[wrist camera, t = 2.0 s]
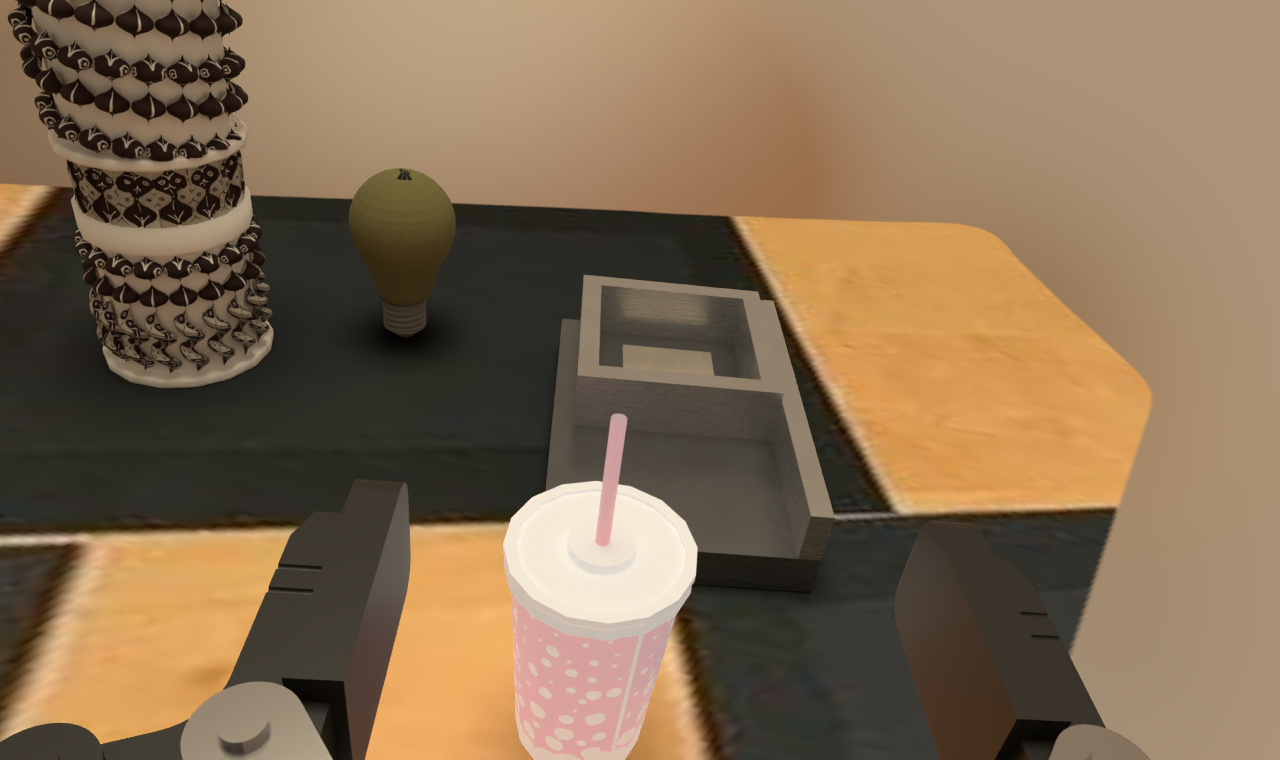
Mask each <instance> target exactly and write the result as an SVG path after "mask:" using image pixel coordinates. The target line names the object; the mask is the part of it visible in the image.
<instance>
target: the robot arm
mask: <svg viewBox="0 0 1280 760" xmlns="http://www.w3.org/2000/svg"><path fill="white" fill-rule="evenodd" d="M409 573H410V530H409V506H408V489H407V484H406V483H404V482H390V481H376V480H362V479H356V480H355V481H354V483H353V484H352V487H351V489H350V492H349V495H348V498H347V500H346V503H345V506H344V509H343V511H342V513H333V512H319V511H315V512H314V513H313V514H312V515H311V516H310V517H309V518H308V519H307V520H306V521H305V522H304V523H303V524H302V525H300V526H299V527H298V528H297V529H296V530H295V531H294V532H293V533H292V534H291V535H290V537H289V540H288V542H287V544H286V547H285V549H284V551H283V554H282V556H281V559H280V561H279V563H278V569H276V570H275V573H274V575H273V578H272V580H271V582H270V585H269V590H268V593H266V594H265V596H264V599H263V601H262V604H261V606H260V608H259V611H258V613H257V615H256V618H255V620H254V623H253V625H252V627H251V630H250V632H249V634H248V637H247V639H246V641H245V644H244V646H243V649H242V651H241V653H240V656H239V658H238V660H237V663H236V665H235V667H234V670H233V672H232V675H231V677H230V679H229V681H228V683H227V685H226V686H225V687H224V689H223V690H222V691H220V692H219V693H217V694H215V695H213V696H212V697H210V698H209V699H208V700H206V701H205V702H204V703H203V704H202V705H201V706H199V707H198V708H197V710H196V711H195V712H194V713H193V714H192V715H191V717H190V719H188V720H186V721H184V722H182V723H180V724H177V725H175V726H172V727H170V728H167V729H163V730H160V731H156V732H152V733H148V734H143V735H139V736H135V737H130V738H126V739H122V740H117V741H113V742H108V743H104V744H100V743H99V741H98V739H97V738H96V737H95V735H94V734H93V733H91V732H90V731H89V730H87V729H85V728H83V727H81V726H78V725H74V724H69V723H50V724H44V725H39V726H35V727H32V728H29V729H25V730H23V731H21V732H18V733H16V734H14V735H12V736H10V737H8V738H6V739H5V740H3V741H1V742H0V760H365V756H366V752H367V748H368V744H369V740H370V736H371V732H372V728H373V724H374V720H375V716H376V712H377V708H378V704H379V700H380V696H381V692H382V689H383V685H384V681H385V677H386V673H387V669H388V665H389V661H390V657H391V653H392V649H393V645H394V641H395V637H396V633H397V629H398V625H399V621H400V617H401V613H402V609H403V605H404V602H405V597H406V593H407V588H408V581H409ZM1047 614H1048V613H1047V611H1046V609H1045V607H1044V605H1043V603H1042V601H1041V599H1040V597H1039V595H1038V593H1037V591H1036V589H1035V587H1034V585H1033V584H1032V583H1031V582H1030V581H1029V580H1028V579H1027V578H1026V577H1025V576H1024V575H1023V574H1022V573H1021V572H1020V571H1019V570H1018V569H1017V568H1016V567H1015V566H1014V565H1013V564H1012V563H1011V562H1010V561H1009V560H1008V559H995V558H994V557H993V554H992V552H991V550H990V548H989V546H988V544H987V542H986V540H985V538H984V535H983V533H982V532H981V530H980V528H979V527H978V526H976V525H975V524H967V523H953V522H938V521H926V522H925V523H924V524H923V525H922V526H921V528H920V530H919V533H918V535H917V538H916V541H915V543H914V546H913V548H912V551H911V553H910V556H909V559H908V561H907V564H906V566H905V569H904V571H903V574H902V577H901V579H900V582H899V584H898V587H897V591H896V596H895V618H896V624H897V628H898V631H899V635H900V638H901V641H902V644H903V647H904V650H905V653H906V656H907V659H908V662H909V665H910V668H911V671H912V675H913V678H914V681H915V684H916V687H917V690H918V693H919V696H920V699H921V702H922V705H923V708H924V711H925V715H926V718H927V721H928V724H929V727H930V730H931V733H932V736H933V739H934V742H935V745H936V748H937V751H938V755H939V758H940V760H1150V758H1149V757H1148V756H1147V755H1146V754H1145V753H1144V752H1143V751H1142V750H1141V749H1140V748H1139V747H1137V746H1136V745H1135V744H1134V743H1132V742H1131V741H1130V740H1128V739H1126V738H1125V737H1123V736H1122V735H1120V734H1118V733H1115V732H1113V731H1112V730H1109V729H1106V727H1105V725H1104V723H1103V721H1102V719H1101V717H1100V715H1099V714H1098V712H1097V710H1096V708H1095V706H1094V704H1093V702H1092V700H1091V698H1090V696H1089V694H1088V692H1087V690H1086V688H1085V686H1084V684H1083V682H1082V680H1081V678H1080V676H1079V674H1078V672H1077V670H1076V668H1075V666H1074V664H1073V662H1072V660H1071V658H1070V656H1069V654H1068V652H1067V650H1066V648H1065V646H1064V644H1063V642H1059V635H1058V633H1057V631H1056V629H1055V627H1054V625H1053V623H1052V621H1051V619H1048V618H1047Z"/></svg>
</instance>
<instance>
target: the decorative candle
mask: <svg viewBox="0 0 1280 760" xmlns="http://www.w3.org/2000/svg"><path fill="white" fill-rule="evenodd" d="M16 1H17V2H18V8H16V9H14V10H13V11H11V12H10V13H9V15H8V21H9V23H10V24H11V26H13V27H14V28H13V34H14V36H15V38H16V39H17V40H18V41H19V42H20V43H22V44H25V45H26V46H24V47H23V48H22V50H21V52H20V56H21V58H22V60H23V61H24V62H23V65H22V68H23V71H24V73H25V74H26V75H27V76H29V77H30V78H33V79H36V83H37V85H38V86H39V87H40V88H41V89H43V90H44V91H42V92H40V93H39V94H38V95H37V96H36V98H35V104H36V107H37V108H38V109H40V111H39V118H40V120H41V121H42V122H43V123H44V124H45V125H47V126H48V129H49V131H48V133H47V135H48V139H49V142H50V144H51V146H52V148H53V151H54V152H55V154H57V155H59V156H61V157H63V158H65V159H66V160H67V170H68V174H69V176H70V179H71V182H72V185H73V188H74V192H75V195H74V196H73V198H72V199H71V202H72V206H73V210H74V214H75V218H76V222H77V226H78V228H79V229H78V230H77V231H76V233H75V235H74V237H75V241H76V242H77V243H76V244H75V250H76V252H77V254H78V255H80V256H81V257H84V258H85V259H84V260H83V262H82V268H83V269H84V270H85V271H84V272H83V280H84V281H85V282H86V283H87V284H89V285H93V287H92V289H91V291H90V294H89V299H90V311H91V313H92V315H93V317H94V318H95V319H96V325H97V337H98V339H99V341H100V342H101V344H103V345H104V346H103V353H104V356H105V358H106V361H107V363H108V366H109V368H110V370H111V371H113V372H114V373H116V374H118V375H119V376H121V377H122V378H124V379H126V380H127V381H129V382H131V383H136V384H141V385H146V386H151V387H156V388H191V387H199V386H204V385H208V384H212V383H216V382H220V381H225V380H229V379H231V378H233V377H235V376H237V375H239V374H241V373H243V372H245V371H247V370H249V369H251V368H253V367H255V366H256V365H257V364H258V363H259V362H260V361H261V360H262V359H263V358H264V357H265V356H266V355H267V354H268V353H269V352H270V351H271V347H272V342H273V336H274V332H273V329H272V327H271V326H270V324H269V323H268V321H267V320H268V319H269V318H270V317H271V316H272V315H273V312H272V311H271V310H270V309H268V308H266V307H265V306H266V304H267V303H268V300H267V298H266V297H265V295H266V294H267V293H268V292H269V291H270V287H269V286H268V285H267V284H265V283H263V282H262V281H263V280H264V279H265V275H264V273H263V272H261V268H260V266H261V265H262V264H263V263H264V261H265V256H264V254H263V253H262V252H260V245H259V244H258V241H257V240H258V239H259V238H260V237H261V235H262V230H261V228H260V226H259V225H257V219H256V217H255V216H254V215H253V213H252V205H251V198H250V191H249V189H248V188H247V186H246V185H245V182H244V178H243V166H242V158H241V153H240V149H241V148H243V147H244V145H245V143H246V139H247V136H248V129H247V127H246V125H245V124H244V123H243V122H242V121H241V120H240V119H239V117H238V116H237V115H236V114H233V112H236V111H237V110H239V109H241V108H242V106H243V105H244V104H246V103H247V102H248V95H247V93H246V92H244V91H243V89H242V88H241V87H240V86H238V85H236V84H234V83H233V82H231V81H230V79H232V78H234V77H237V76H238V75H239V74H240V72H241V71H242V70H243V69H244V68H245V61H244V59H243V58H242V57H241V56H239V55H237V54H236V53H234V52H233V51H231V50H230V48H229V49H227V48H225V47H224V46H223V40H222V37H223V36H224V35H225V34H227V33H229V34H230V32H232V31H234V30H235V29H236V28H238V27H240V26H241V25H242V21H243V20H242V17H241V15H239V13H237V12H235V11H234V10H232V9H231V8H229V7H228V6H227V5H224V4H223V3H222V2H221V0H220V6H219V7H218V3H217V0H16ZM32 18H34V22H35V26H36V31H37V32H36V33H35V31H34V30H33V29H32V27H31V24H32ZM42 57H43V59H44V62H45V67H46V70H45V71H42V69H41V68H42ZM56 111H57V112H56Z"/></svg>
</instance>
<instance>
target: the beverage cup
mask: <svg viewBox="0 0 1280 760" xmlns="http://www.w3.org/2000/svg"><path fill="white" fill-rule="evenodd" d="M626 425H627V417H626V416H625V415H623V414H619V413H618V414H613V415H612V416H611V421H610V428H609V436H608V444H607V452H606V460H605V467H604V475H603V482H600V481H591V482H581V483H572V484H563V485H560V486H558V487H555V488H553V489H551V490H548V491H546V492H544V493H541V494H539V495H537V496H534V497H532V498H531V499H530V500H529V501H528V502H527V503H526V504H525V505H524V506H523V507H522V508H521V509H520V510H519V511H518V512H517V513H516V514H515V515H514V516H513V517H512V518H511V521H510V524H509V527H508V531H507V534H506V537H505V540H504V543H503V554H504V561H503V564H504V568H505V572H506V577H507V581H508V585H509V589H510V592H511V593H512V613H513V647H514V680H515V714H516V724H517V729H518V733H519V738H520V742H521V743H522V745H523V746H524V747H525V749H526V750H527V751H528V753H529V754H530V755H531V757H532V758H533V759H534V760H625V759H626V758H627V756H628V754H629V753H630V751H631V750H632V748H633V746H634V745H635V743H636V742H637V740H638V737H639V734H640V731H641V727H642V724H643V721H644V717H645V714H646V711H647V708H648V704H649V701H650V698H651V695H652V691H653V688H654V685H655V682H656V678H657V675H658V672H659V669H660V665H661V662H662V659H663V656H664V652H665V649H666V646H667V643H668V639H669V636H670V633H671V629H672V626H673V623H674V620H675V616H676V614H677V612H678V611H679V609H680V608H681V607H682V605H683V604H684V602H685V601H686V599H687V598H688V596H689V595H690V593H691V586H692V584H693V583H694V581H695V577H696V565H697V549H698V547H697V545H696V543H695V541H694V539H693V537H692V535H691V532H690V530H689V528H688V526H687V524H686V522H685V521H684V520H683V519H682V518H681V517H680V516H679V515H678V514H676V513H675V512H674V511H673V510H672V509H671V508H670V507H669V506H668V505H667V504H665V503H664V502H663V501H662V500H660V499H658V498H656V497H653V496H651V495H649V494H647V493H645V492H642V491H640V490H638V489H636V488H633V487H631V486H625V485H619V484H618V482H619V475H620V468H621V461H622V454H623V447H624V440H625V433H626Z"/></svg>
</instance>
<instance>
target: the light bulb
mask: <svg viewBox="0 0 1280 760" xmlns="http://www.w3.org/2000/svg"><path fill="white" fill-rule="evenodd" d="M349 227H350V234H351V237H352V240H353V243H354V245H355V247H356V249H357V251H358V253H359V254H360V256H361V257H362V259H363V260H364V262H365V263H366V265H367V266H368V268H369V270H370V271H371V273H372V275H373V278H374V281H375V284H376V288H377V291H378V293H379V294H380V298H381V299H382V304H383V315H384V316H383V320H384V322H383V323H384V326H385V328H386V329H387V330H389V331H391V332H394V333H395V334H397V335H398V336H400V337H410V336H412V335H414V334H415V333H417V332H418V331H421V330H422V329H423V328H424V327H425V326H426V300H427V299H428V297H429V296H430V294H431V292H432V289H433V285H434V280H435V277H436V274H437V272H438V270H439V268H440V266H441V264H442V263H443V261H444V259H445V258H446V256H447V254H448V252H449V250H450V248H451V245H452V243H453V239H454V235H455V214H454V210H453V207H452V204H451V201H450V199H449V198H448V196H447V195H446V193H445V191H444V190H443V189H442V188H441V187H440V186H439V185H438V184H437V183H436V182H435V181H434V180H433V179H431V178H429V177H428V176H426V175H424V174H423V173H420V172H417V171H414V170H411V169H403V168H401V169H400V168H399V169H391V170H385V171H382V172H380V173H378V174H376V175H374V176H372V177H371V178H369V179H368V180H367V181H366V182H365V183H364V184H363V185H362V186H361V187H360V188H359V190H358V191H357V193H356V195H355V196H354V198H353V201H352V204H351V206H350V211H349Z"/></svg>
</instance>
